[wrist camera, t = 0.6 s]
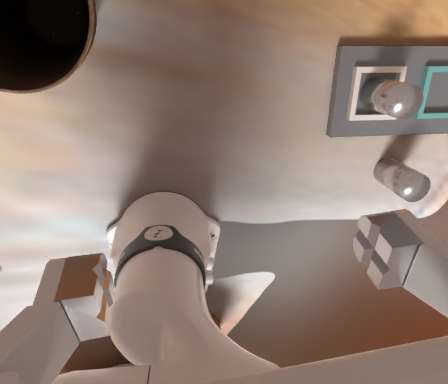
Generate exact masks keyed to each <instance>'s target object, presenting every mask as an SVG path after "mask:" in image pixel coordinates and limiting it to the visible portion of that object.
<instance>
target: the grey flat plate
mask: <svg viewBox="0 0 448 384" xmlns="http://www.w3.org/2000/svg"><path fill="white" fill-rule="evenodd" d="M372 78H383V79H389V80H394V81H400V82H406V83H411V84H415V85H417V86H419V87H420V88H421V90H422V92H423V103H422V106H421V108H420V109H419V111H418V112H417V113H416V114H415V115H414V116H412V117H410V118H408V119H398V118H395V117H392V116H389V115H386V114H383V113H380V112H377V111H375V110H372V109H369V108H366V107H364V106H363V105H362V103H361V101H360V91H361V88H362V86H363V85H364V84H365V83H366V82H367V81H368V80H370V79H372ZM444 133H448V46H337V52H336V60H335V68H334V76H333V85H332V93H331V101H330V109H329V117H328V125H327V134H326V135H327V136H329V137H352V136H382V135H413V134H444Z"/></svg>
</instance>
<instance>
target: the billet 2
mask: <svg viewBox="0 0 448 384" xmlns="http://www.w3.org/2000/svg"><path fill="white" fill-rule="evenodd" d="M374 177H375V179H376V180H377V181H379V182H380V183H381V184H383V185H384V186H386V187H387V188H389V189H390V190H392V191H393V192H394V193H396V194H397V195H399V196H400V197H402V198H403V199H405V200H406V201H408V202H416V201H419V200H420V199H422V198H423V197H424V196H425V195H426V194H427V193H428V191H429V189H430V180H429V178H428V177H427V176H425V175H423V174H422V173H420V172H418V171H416V170H414V169H412V168H410V167H409V166H407V165H405V164H403V163H401V162H399V161H397V160H396V159H394V158H384V159H382V160H381V161H379V162H378V163H377V165H376V166H375V168H374Z"/></svg>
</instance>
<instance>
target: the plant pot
mask: <svg viewBox="0 0 448 384" xmlns="http://www.w3.org/2000/svg"><path fill="white" fill-rule="evenodd" d="M76 10H78V11H79V15H77V14H76ZM96 24H97V16H96V6H95V1H94V0H0V91H2V92H7V93H17V94H26V93H36V92H41V91H44V90H47V89H50V88H52V87H55V86H57V85H58V84H60V83H62V82H63V81H65V80H66V79H68V78H69V77H70V76H71V75H72V74H73V73H74V72H75V71H76V70H77V69H78V67H79V66H80V65H81V64H82V62H83V61H84V59H85V58H86V56H87V55H88V53H89V51H90V49H91V46H92V44H93V41H94V37H95V33H96ZM51 34H52V35H54V37H51V36H50V35H51Z"/></svg>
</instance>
